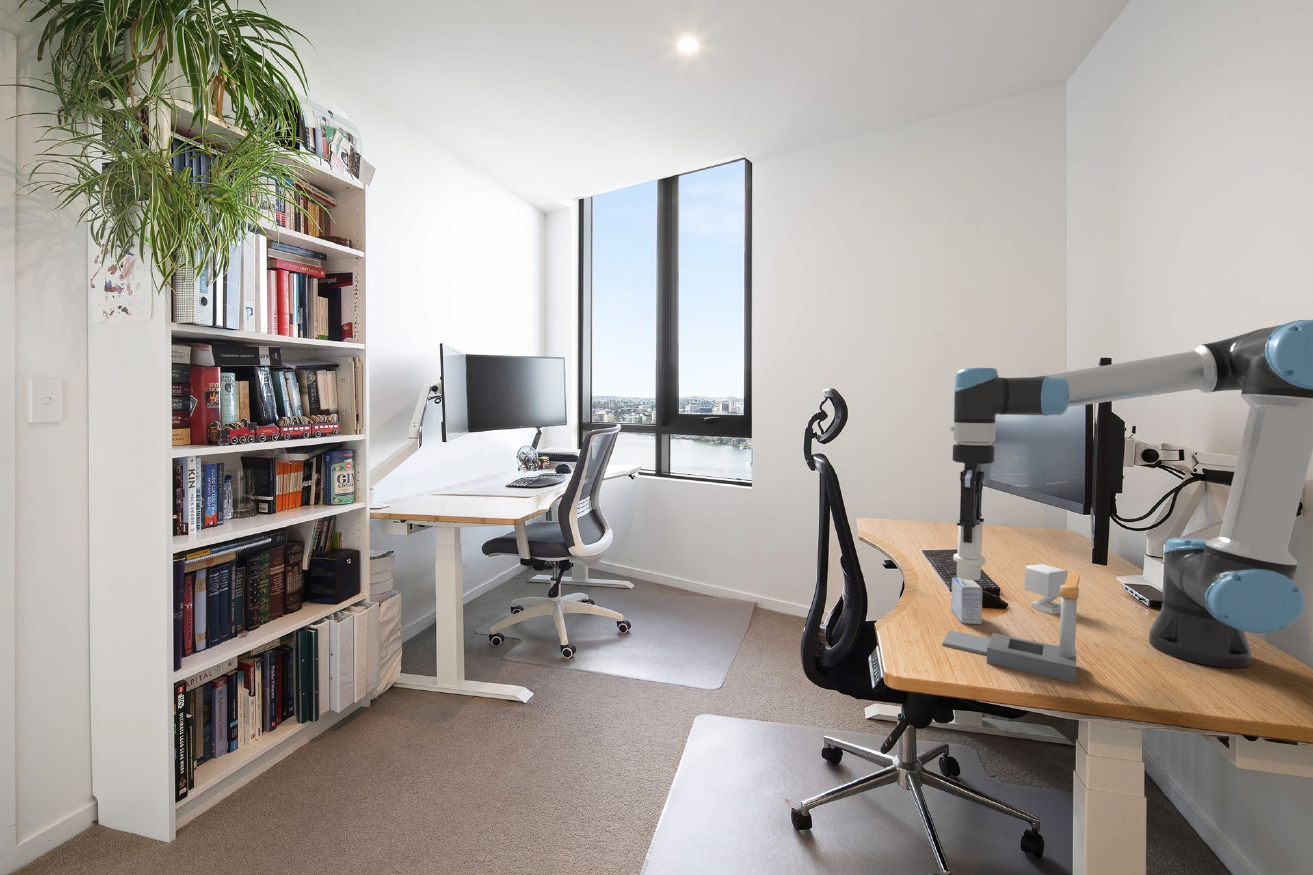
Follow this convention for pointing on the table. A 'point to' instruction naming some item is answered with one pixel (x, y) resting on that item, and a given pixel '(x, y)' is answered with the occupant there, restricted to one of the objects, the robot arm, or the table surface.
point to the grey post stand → (1040, 650)
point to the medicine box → (966, 601)
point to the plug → (968, 566)
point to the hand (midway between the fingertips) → (969, 554)
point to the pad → (966, 642)
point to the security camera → (1045, 586)
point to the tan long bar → (1070, 586)
